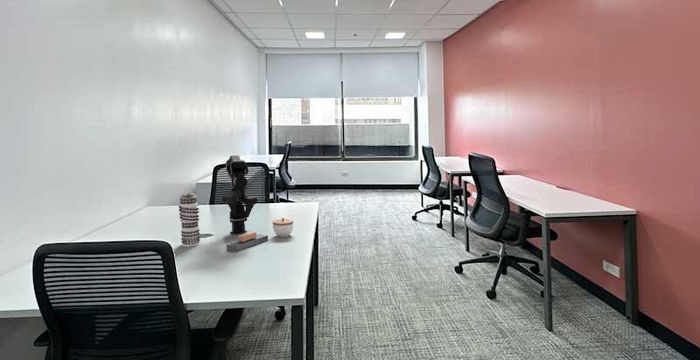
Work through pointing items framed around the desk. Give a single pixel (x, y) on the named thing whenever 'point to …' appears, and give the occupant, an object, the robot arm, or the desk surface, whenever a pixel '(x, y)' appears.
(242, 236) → the peach rectangular block
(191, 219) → the ribbed stacked tower
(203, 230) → the desk surface
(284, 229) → the lidded jar
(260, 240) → the rail
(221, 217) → the desk surface
